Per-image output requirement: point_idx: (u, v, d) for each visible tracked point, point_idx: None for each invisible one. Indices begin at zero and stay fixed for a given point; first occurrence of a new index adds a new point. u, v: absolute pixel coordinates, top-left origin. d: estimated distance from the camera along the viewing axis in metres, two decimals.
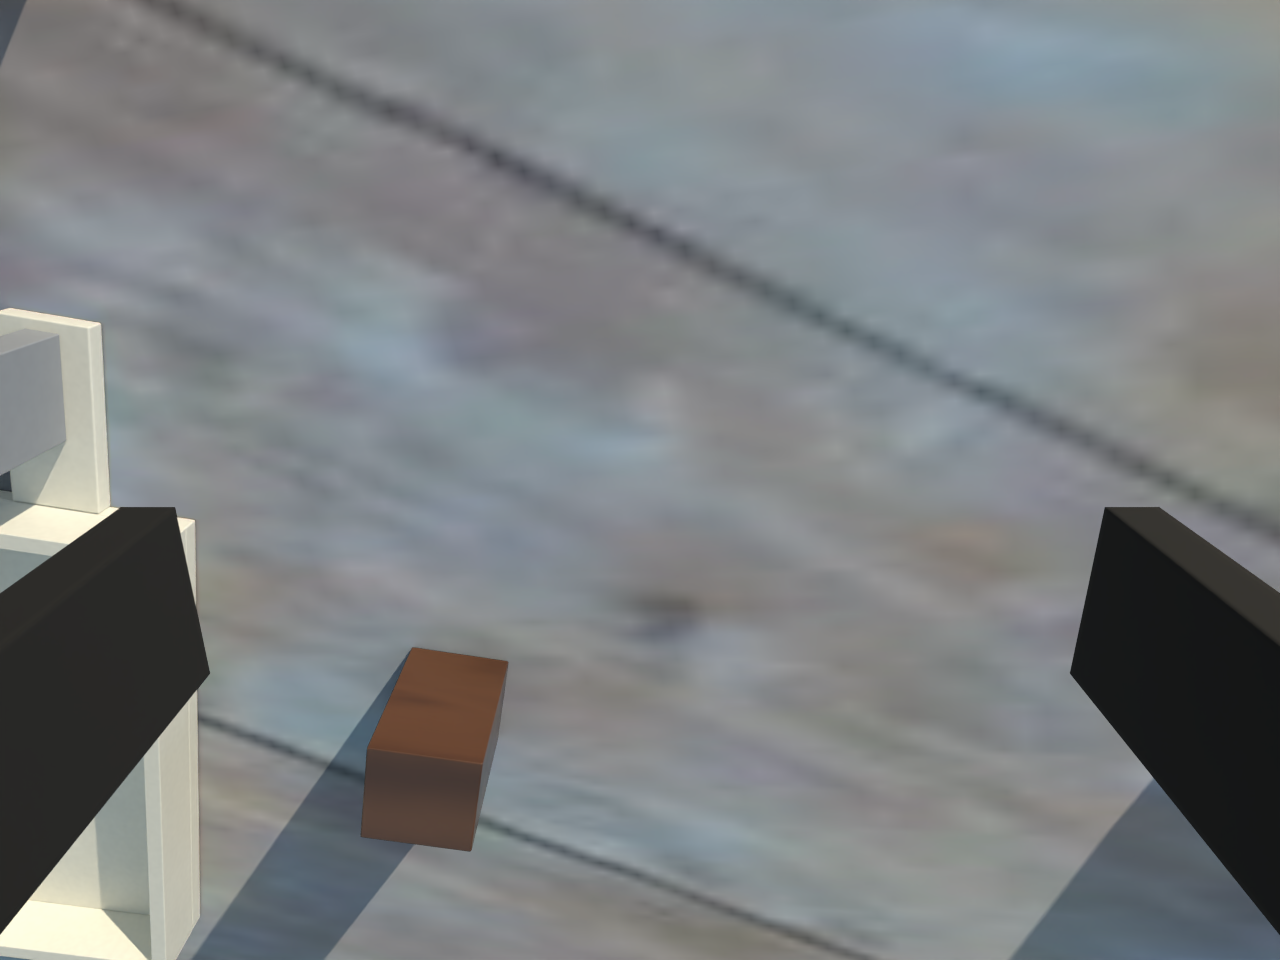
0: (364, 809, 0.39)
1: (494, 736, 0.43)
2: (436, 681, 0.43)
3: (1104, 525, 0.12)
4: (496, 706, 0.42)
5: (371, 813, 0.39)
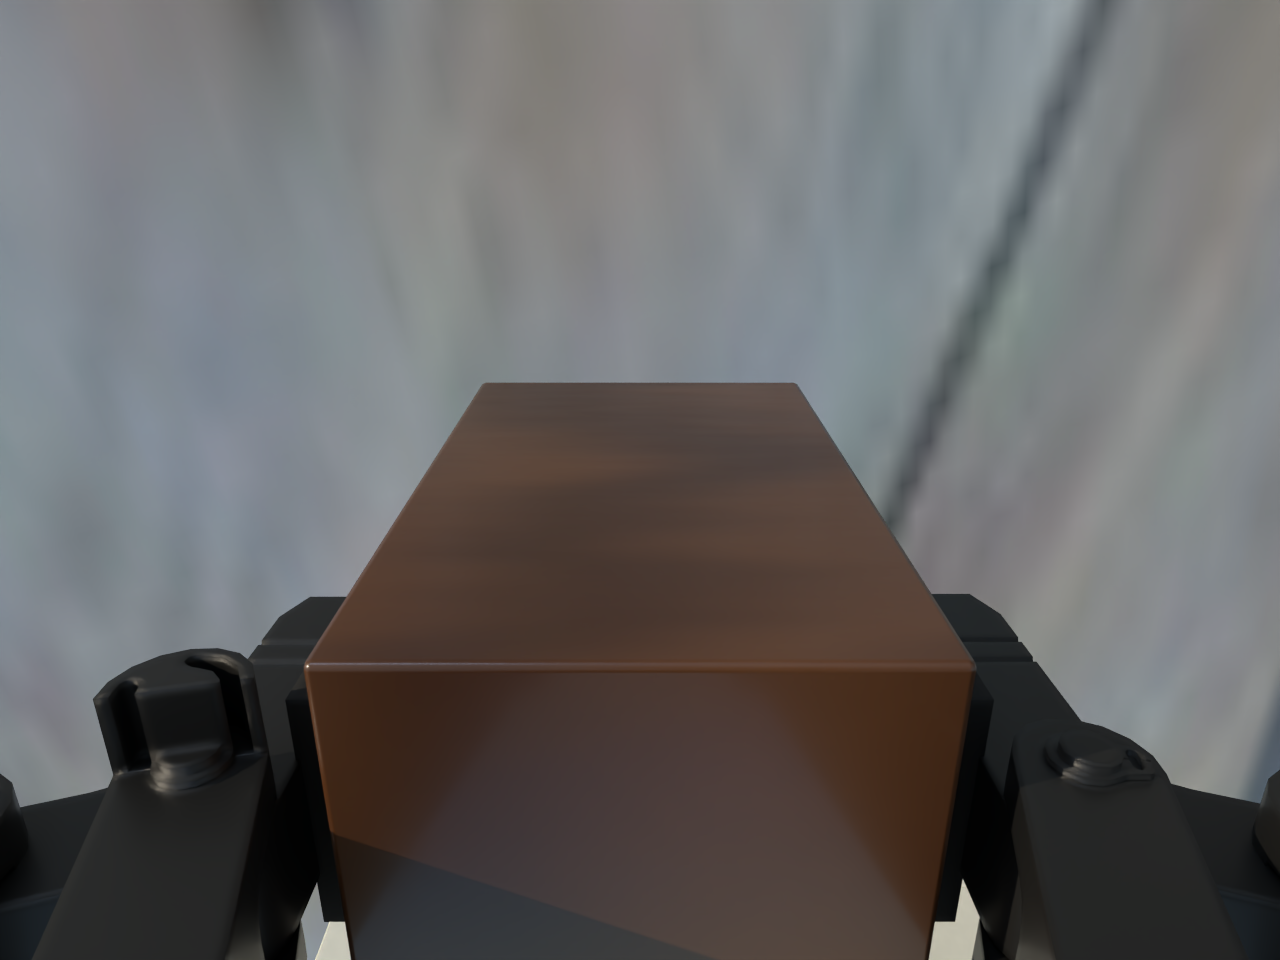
0: None
1: (638, 442, 0.11)
2: None
3: None
4: (431, 469, 0.10)
5: None
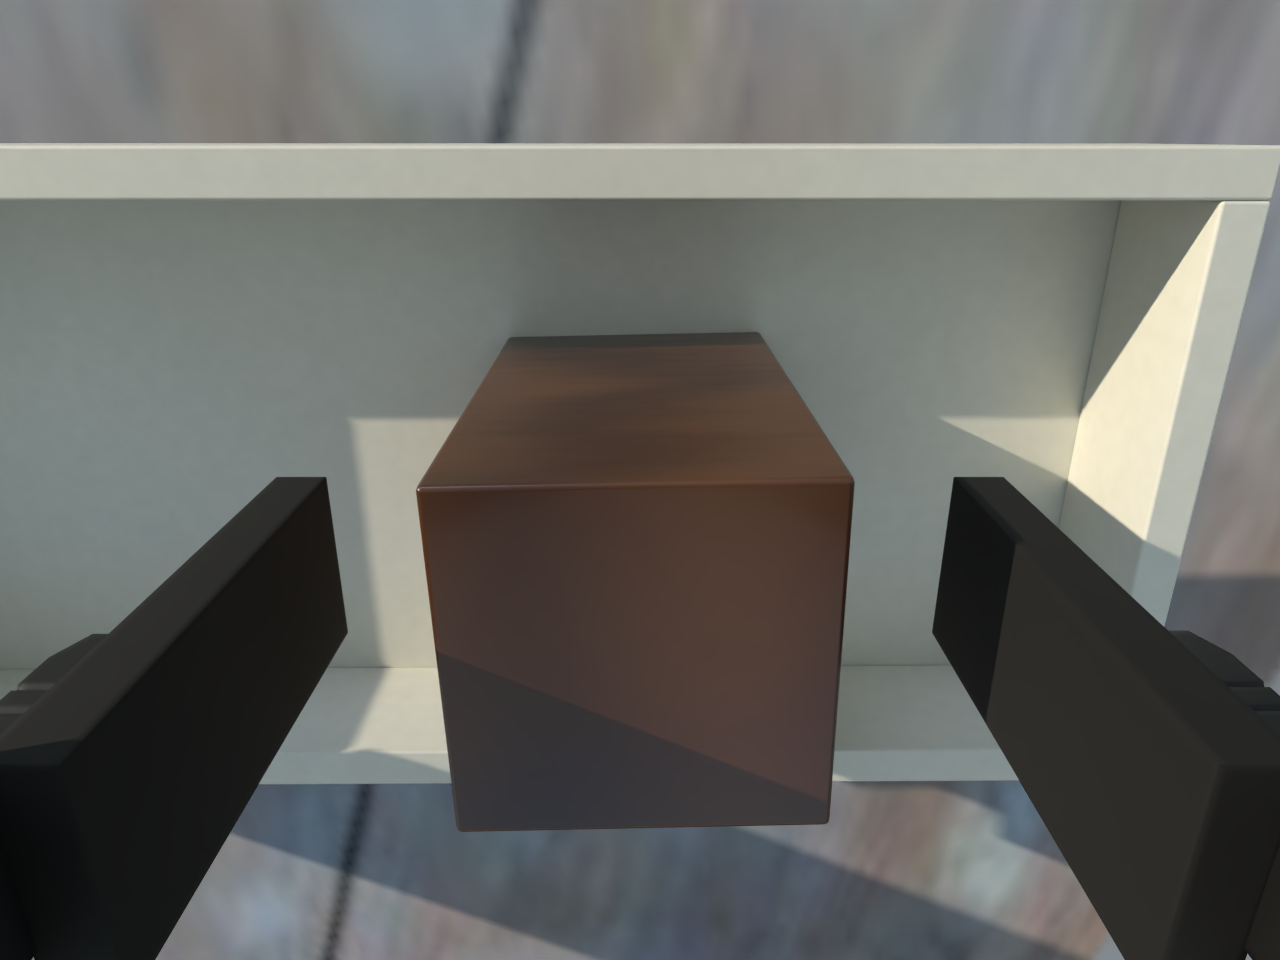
0: (707, 823, 0.12)
1: (633, 371, 0.15)
2: None
3: (953, 493, 0.13)
4: (478, 390, 0.14)
5: (721, 803, 0.12)
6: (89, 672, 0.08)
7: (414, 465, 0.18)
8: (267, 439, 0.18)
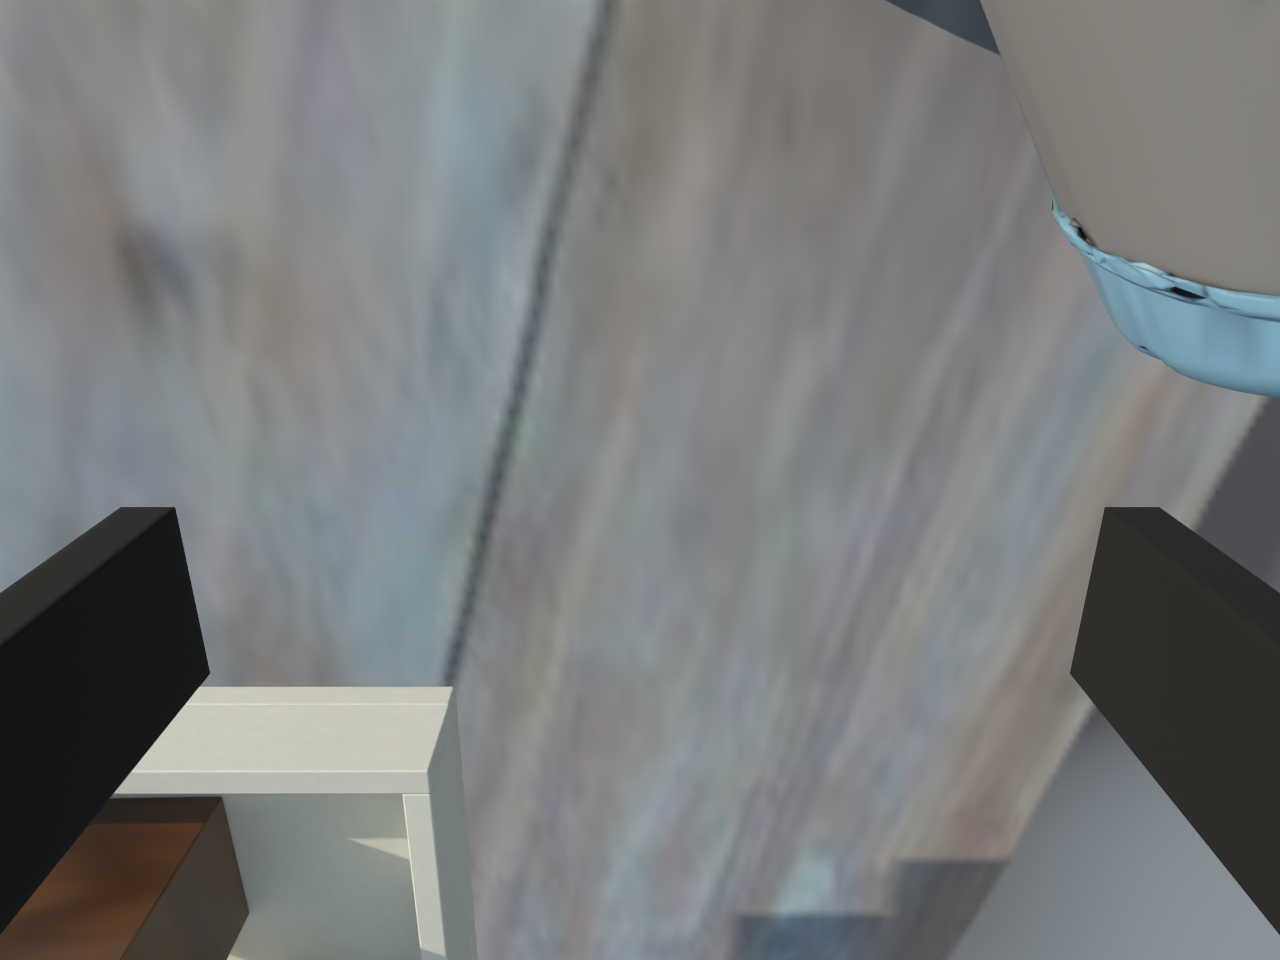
0: None
1: (90, 869, 0.25)
2: None
3: (1104, 525, 0.12)
4: None
5: None
6: None
7: None
8: None
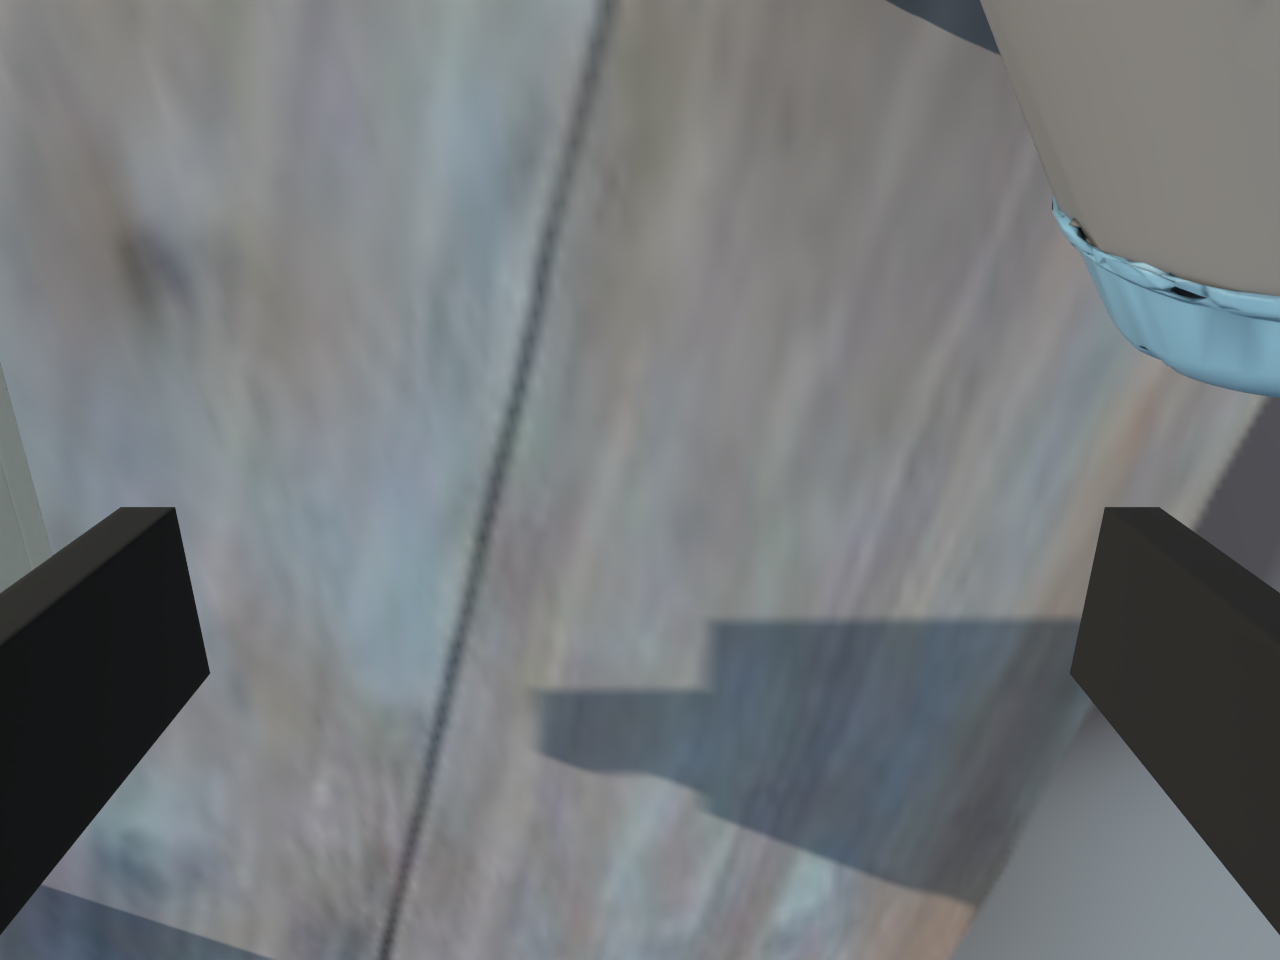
0: None
1: None
2: None
3: (1104, 525, 0.12)
4: None
5: None
6: None
7: None
8: None
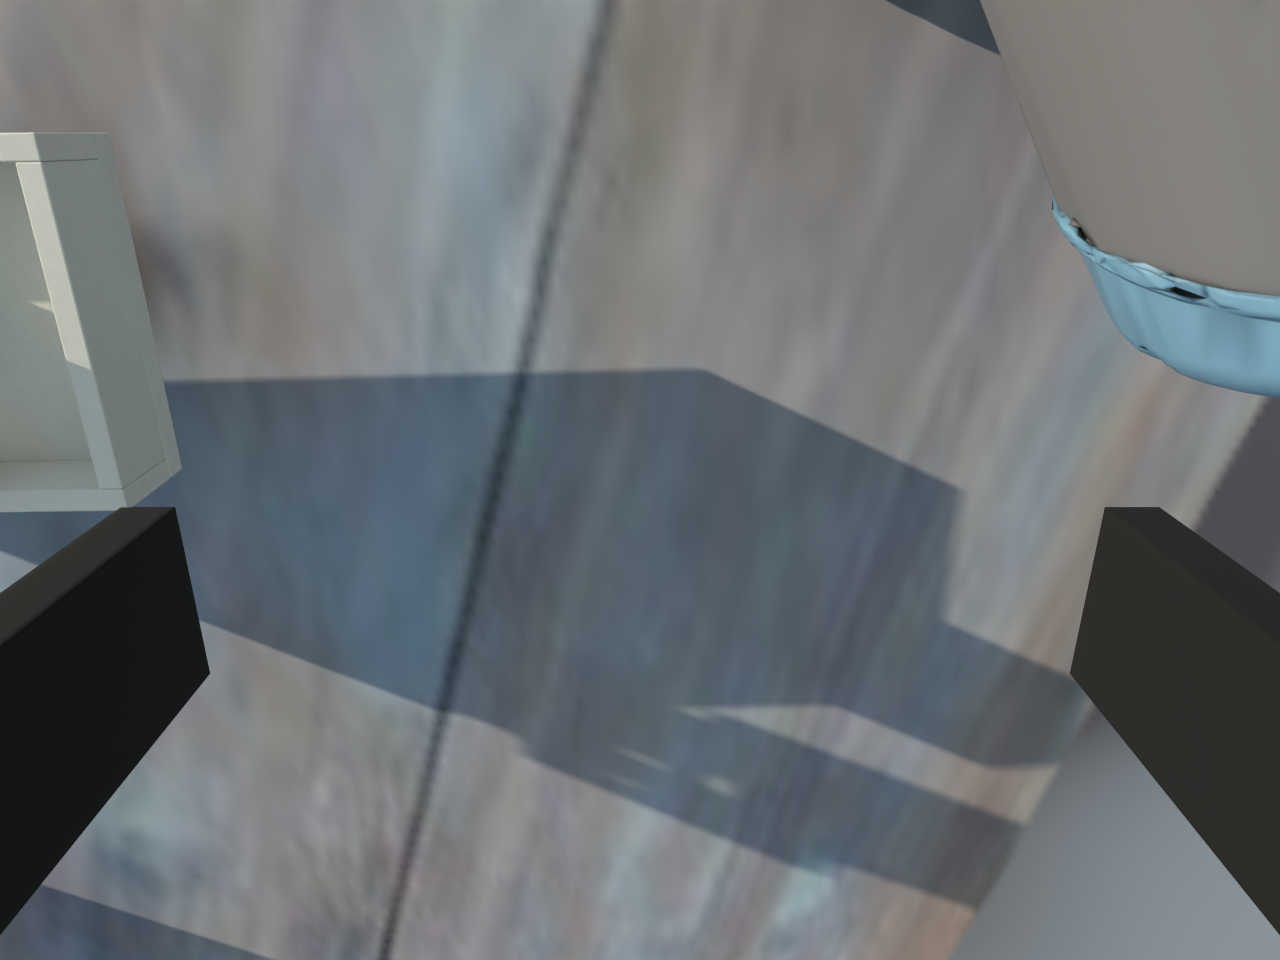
0: None
1: None
2: None
3: (1104, 525, 0.12)
4: None
5: None
6: None
7: None
8: None
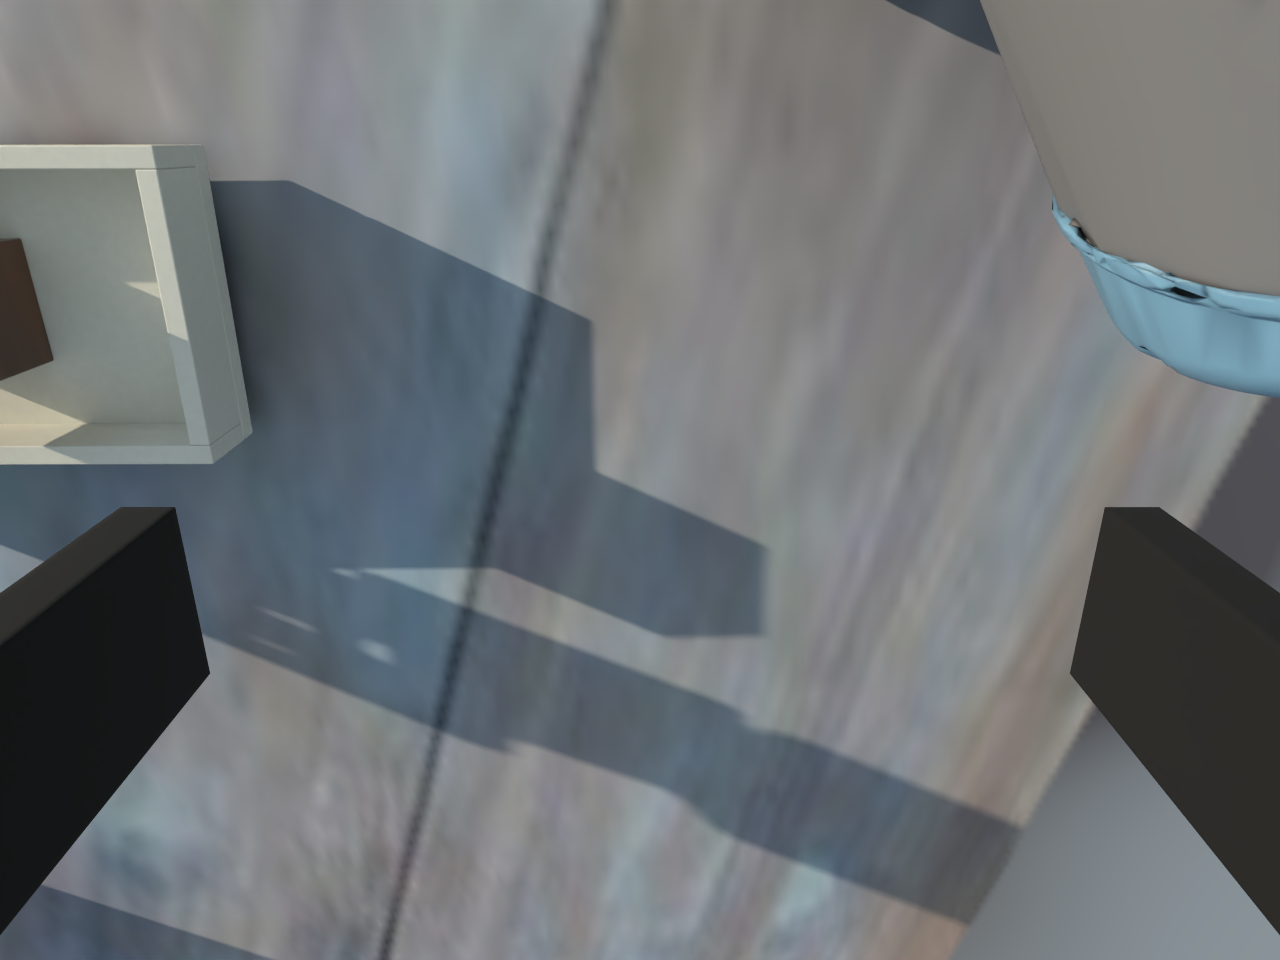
0: None
1: None
2: None
3: (1104, 525, 0.12)
4: None
5: None
6: None
7: None
8: None
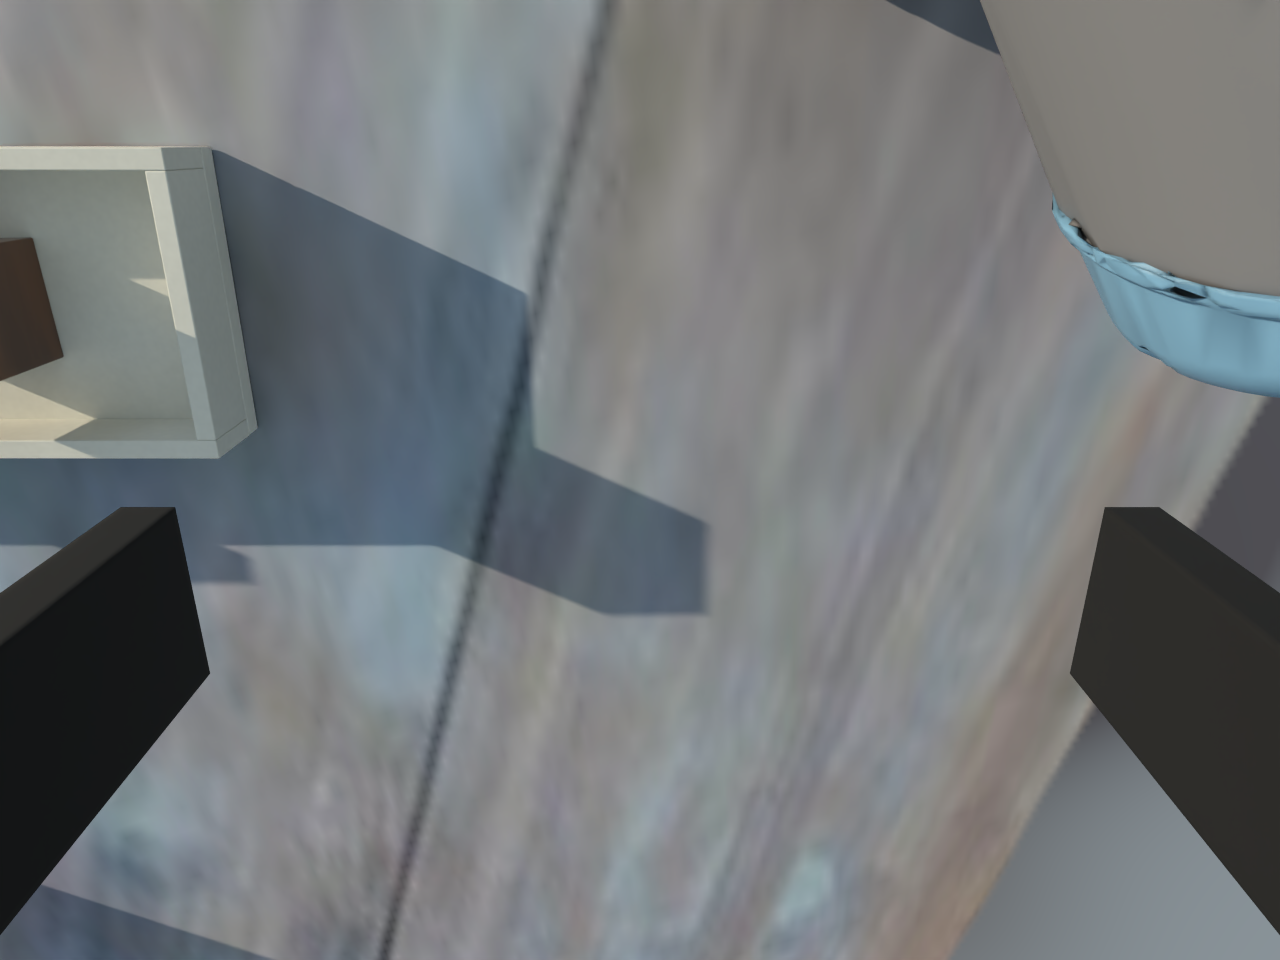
0: None
1: None
2: None
3: (1104, 525, 0.12)
4: None
5: None
6: None
7: None
8: None
